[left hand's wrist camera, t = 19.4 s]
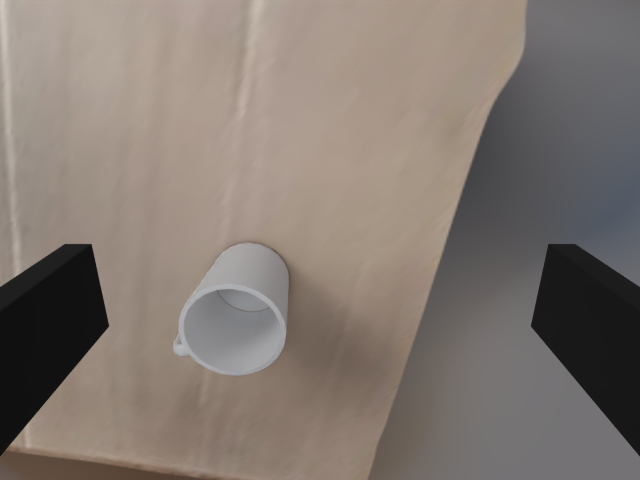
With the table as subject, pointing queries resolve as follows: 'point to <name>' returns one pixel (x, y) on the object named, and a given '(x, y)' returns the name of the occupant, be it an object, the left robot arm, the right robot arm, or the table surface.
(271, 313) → the mug
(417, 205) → the table surface
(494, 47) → the table surface
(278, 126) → the table surface
